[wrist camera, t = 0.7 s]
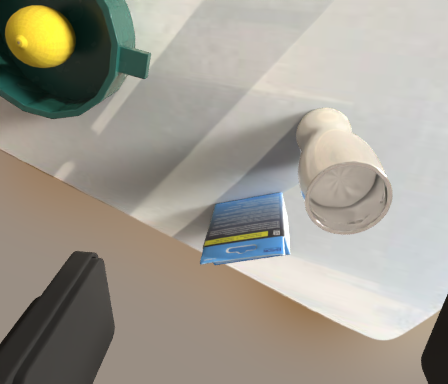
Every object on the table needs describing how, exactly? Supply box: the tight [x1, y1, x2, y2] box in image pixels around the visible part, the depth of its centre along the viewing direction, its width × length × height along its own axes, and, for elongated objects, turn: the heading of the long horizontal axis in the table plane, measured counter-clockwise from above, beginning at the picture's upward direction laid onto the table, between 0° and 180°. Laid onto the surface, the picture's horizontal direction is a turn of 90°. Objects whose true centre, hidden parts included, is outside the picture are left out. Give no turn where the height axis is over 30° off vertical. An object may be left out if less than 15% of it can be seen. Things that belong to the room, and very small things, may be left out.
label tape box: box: [200, 192, 290, 265], centre depth 42 cm, size 9×4×12 cm, turn 105°
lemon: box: [5, 5, 76, 68], centre depth 35 cm, size 6×6×8 cm
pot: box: [0, 0, 151, 119], centre depth 37 cm, size 15×21×5 cm
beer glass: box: [296, 108, 392, 235], centre depth 35 cm, size 7×7×15 cm
